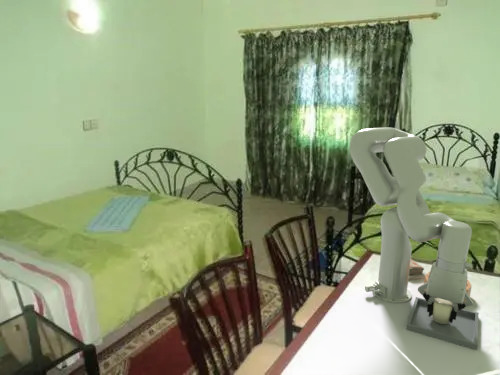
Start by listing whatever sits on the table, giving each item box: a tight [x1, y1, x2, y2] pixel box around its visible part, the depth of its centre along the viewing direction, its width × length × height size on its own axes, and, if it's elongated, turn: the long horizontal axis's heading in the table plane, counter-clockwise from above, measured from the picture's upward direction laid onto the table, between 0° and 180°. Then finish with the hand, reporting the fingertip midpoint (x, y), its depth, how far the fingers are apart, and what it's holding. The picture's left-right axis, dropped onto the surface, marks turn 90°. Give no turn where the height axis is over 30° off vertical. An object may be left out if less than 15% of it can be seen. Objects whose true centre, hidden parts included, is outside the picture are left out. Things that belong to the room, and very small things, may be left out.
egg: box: [431, 298, 453, 324], centre depth 116 cm, size 5×5×6 cm
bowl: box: [423, 271, 473, 304], centre depth 134 cm, size 14×14×5 cm
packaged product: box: [408, 258, 427, 281], centre depth 152 cm, size 18×5×10 cm
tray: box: [406, 296, 479, 351], centre depth 116 cm, size 18×18×2 cm
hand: (440, 316), depth 117 cm, fingers closed on egg, 5 cm apart
